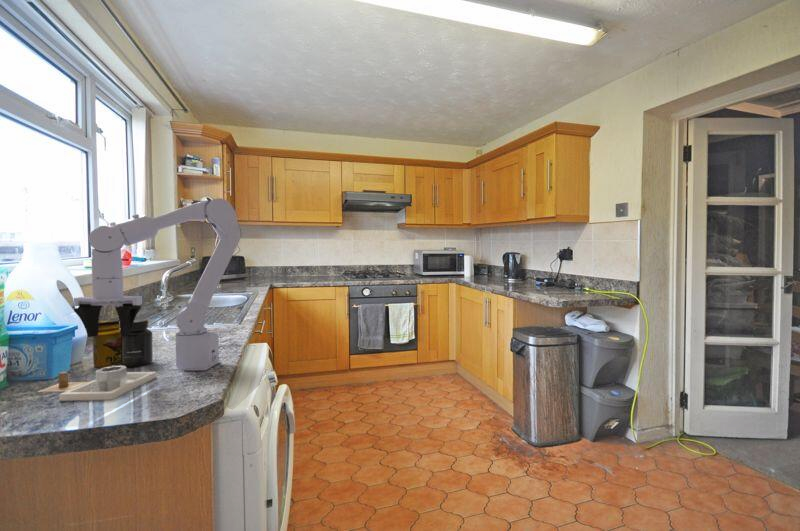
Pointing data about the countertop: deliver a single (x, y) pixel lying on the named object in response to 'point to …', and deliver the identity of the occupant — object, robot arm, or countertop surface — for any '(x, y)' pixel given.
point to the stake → (62, 384)
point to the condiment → (107, 344)
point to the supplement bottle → (137, 346)
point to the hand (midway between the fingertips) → (109, 336)
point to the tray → (86, 392)
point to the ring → (110, 378)
